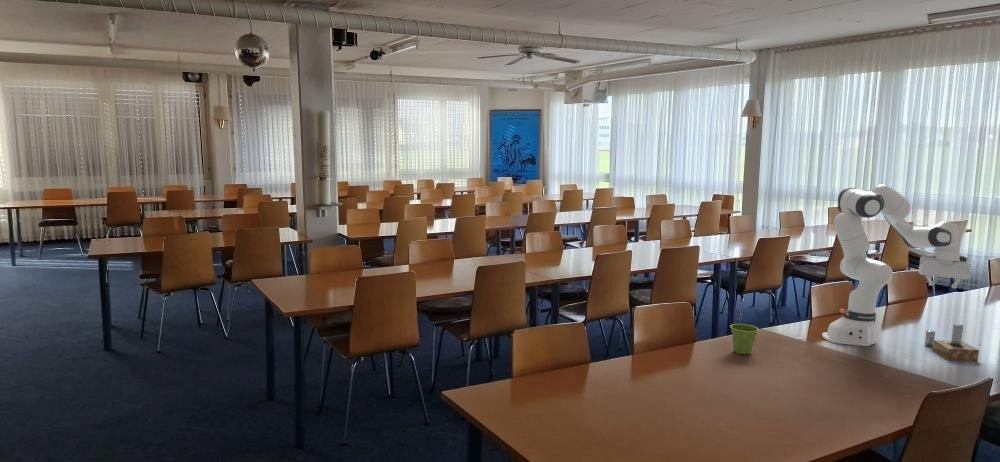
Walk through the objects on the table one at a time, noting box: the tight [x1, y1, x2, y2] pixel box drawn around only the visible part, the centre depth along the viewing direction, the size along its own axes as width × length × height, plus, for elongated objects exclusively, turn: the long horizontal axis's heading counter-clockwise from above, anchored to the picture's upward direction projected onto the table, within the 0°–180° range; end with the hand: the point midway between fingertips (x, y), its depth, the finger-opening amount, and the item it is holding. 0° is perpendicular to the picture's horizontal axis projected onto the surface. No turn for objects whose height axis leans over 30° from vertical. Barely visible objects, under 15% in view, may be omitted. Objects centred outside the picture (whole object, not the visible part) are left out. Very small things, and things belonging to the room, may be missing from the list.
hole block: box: [932, 339, 980, 362], centre depth 286 cm, size 12×12×5 cm
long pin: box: [950, 323, 964, 347], centre depth 285 cm, size 4×4×14 cm
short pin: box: [924, 329, 936, 348], centre depth 299 cm, size 4×4×7 cm
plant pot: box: [729, 323, 760, 355], centre depth 286 cm, size 12×12×11 cm
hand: (942, 286), depth 300 cm, fingers open, 8 cm apart
